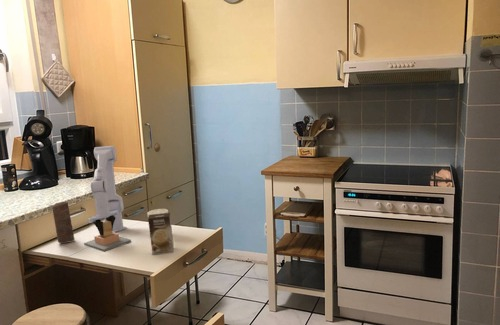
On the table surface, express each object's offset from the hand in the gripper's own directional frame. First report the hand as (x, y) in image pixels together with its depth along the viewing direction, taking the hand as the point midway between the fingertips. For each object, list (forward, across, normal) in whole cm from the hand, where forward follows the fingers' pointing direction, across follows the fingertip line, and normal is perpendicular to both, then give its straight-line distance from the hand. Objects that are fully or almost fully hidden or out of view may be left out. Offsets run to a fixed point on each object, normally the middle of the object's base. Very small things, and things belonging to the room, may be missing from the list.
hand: (106, 233), depth 194 cm
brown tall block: (+5, -10, +22) cm, 25 cm away
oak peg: (+2, 0, 0) cm, 3 cm away
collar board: (+5, 0, 0) cm, 5 cm away
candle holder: (+5, +20, -15) cm, 25 cm away
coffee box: (+5, +6, -34) cm, 35 cm away
